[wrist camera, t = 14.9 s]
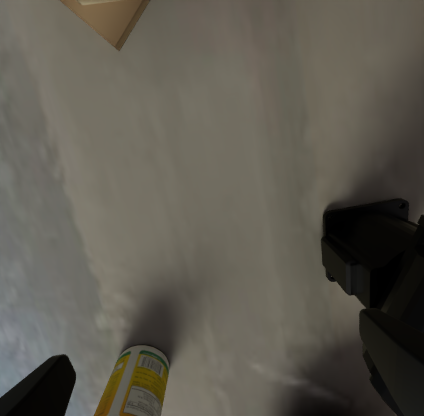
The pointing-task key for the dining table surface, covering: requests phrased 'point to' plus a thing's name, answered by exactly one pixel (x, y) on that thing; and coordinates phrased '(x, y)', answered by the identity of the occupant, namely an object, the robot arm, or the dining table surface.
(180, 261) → the dining table surface
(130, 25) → the ledge stand
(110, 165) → the dining table surface
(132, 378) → the supplement bottle
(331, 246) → the robot arm
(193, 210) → the dining table surface
